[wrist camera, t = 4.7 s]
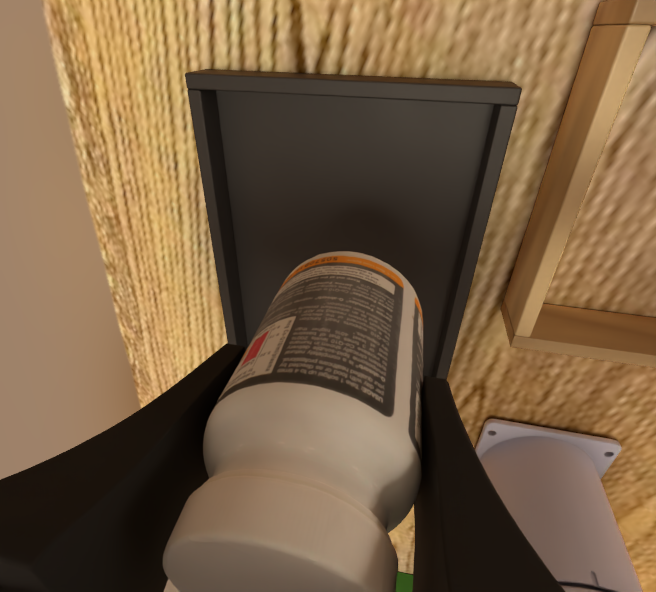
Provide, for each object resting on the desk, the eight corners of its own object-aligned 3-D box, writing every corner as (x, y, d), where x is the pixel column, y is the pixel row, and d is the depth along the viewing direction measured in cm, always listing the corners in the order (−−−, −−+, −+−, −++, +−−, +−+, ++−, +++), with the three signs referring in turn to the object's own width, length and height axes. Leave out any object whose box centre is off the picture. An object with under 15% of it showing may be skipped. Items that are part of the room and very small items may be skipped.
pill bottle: (255, 303, 17) (92, 560, 9) (347, 213, 14) (227, 479, 6) (354, 383, 18) (292, 670, 10) (457, 317, 15) (490, 653, 7)
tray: (438, 385, 25) (438, 409, 24) (244, 353, 28) (232, 373, 26) (513, 81, 16) (522, 87, 14) (206, 68, 18) (183, 72, 16)
